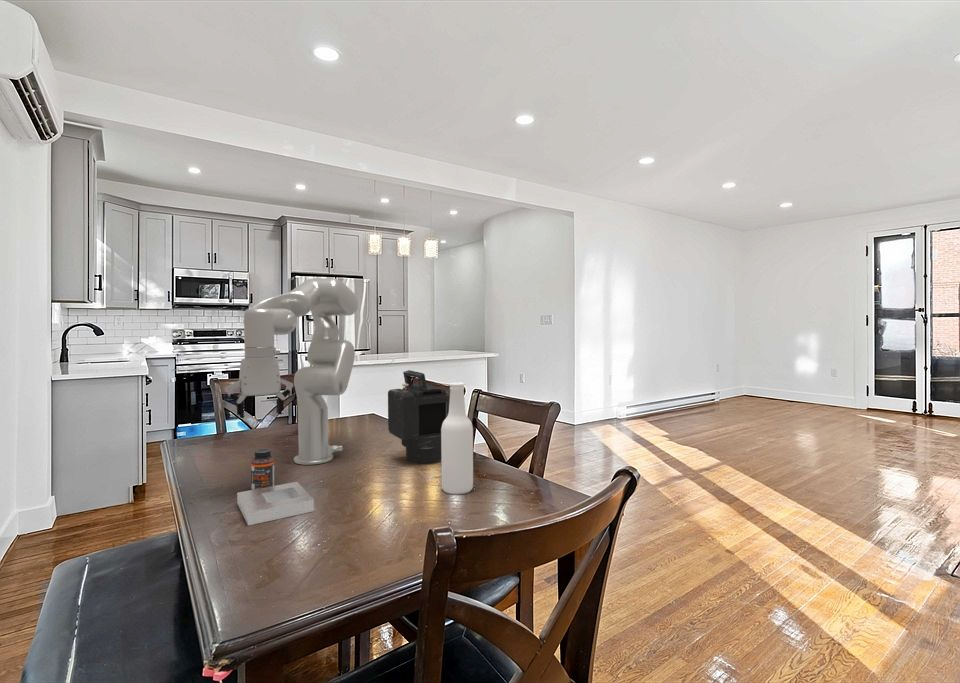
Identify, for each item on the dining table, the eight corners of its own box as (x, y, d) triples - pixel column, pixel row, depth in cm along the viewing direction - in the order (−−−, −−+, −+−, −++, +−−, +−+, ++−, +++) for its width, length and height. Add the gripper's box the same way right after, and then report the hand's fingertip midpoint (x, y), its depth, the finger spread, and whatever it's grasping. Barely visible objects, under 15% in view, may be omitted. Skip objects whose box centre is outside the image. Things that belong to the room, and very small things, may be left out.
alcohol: (435, 490, 137) (434, 383, 135) (455, 482, 144) (455, 380, 142) (459, 497, 131) (459, 385, 130) (479, 488, 138) (479, 382, 137)
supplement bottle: (251, 495, 133) (250, 454, 133) (250, 489, 138) (249, 449, 138) (275, 492, 136) (274, 451, 135) (273, 485, 141) (272, 446, 141)
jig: (297, 492, 136) (297, 481, 135) (313, 511, 122) (313, 499, 122) (237, 504, 127) (237, 492, 127) (248, 525, 114) (247, 513, 114)
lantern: (454, 460, 165) (453, 371, 164) (405, 469, 156) (404, 375, 154) (434, 450, 178) (433, 367, 176) (387, 458, 168) (386, 370, 167)
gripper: (289, 351, 143) (290, 410, 144) (222, 354, 133) (223, 416, 134) (295, 353, 137) (296, 414, 138) (226, 355, 127) (227, 421, 128)
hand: (260, 415), depth 136 cm, fingers open, 9 cm apart
